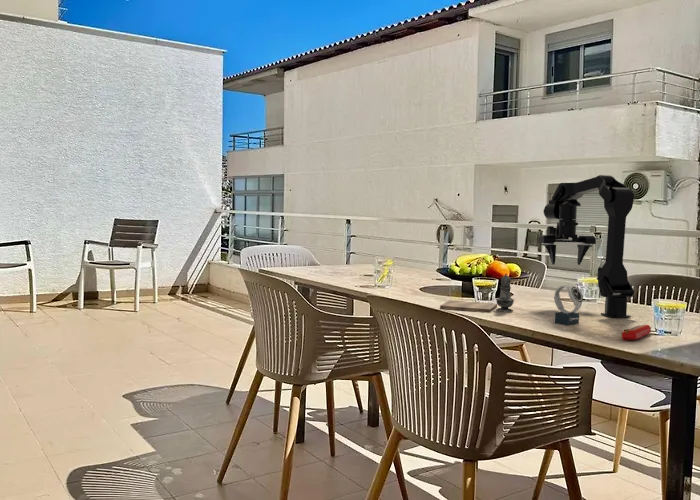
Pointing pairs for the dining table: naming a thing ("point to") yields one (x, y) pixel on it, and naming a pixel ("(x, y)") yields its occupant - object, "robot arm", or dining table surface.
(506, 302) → the dark grey tall piece
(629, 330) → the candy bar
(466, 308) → the walnut board
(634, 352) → the dining table surface
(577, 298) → the watch
